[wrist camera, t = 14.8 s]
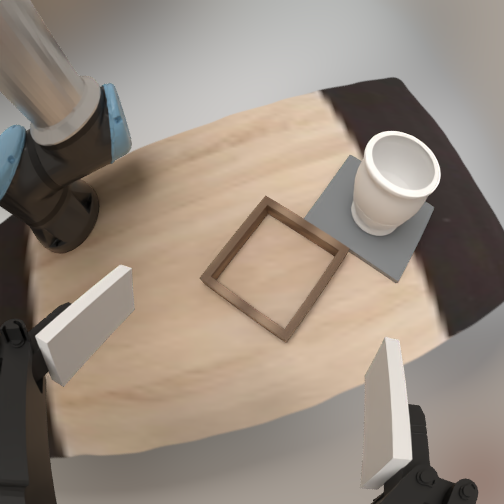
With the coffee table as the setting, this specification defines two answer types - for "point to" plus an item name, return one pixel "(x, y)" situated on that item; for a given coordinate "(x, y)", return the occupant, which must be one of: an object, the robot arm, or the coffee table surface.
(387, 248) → the board
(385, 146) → the jar
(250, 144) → the coffee table surface
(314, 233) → the collar
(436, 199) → the coffee table surface
